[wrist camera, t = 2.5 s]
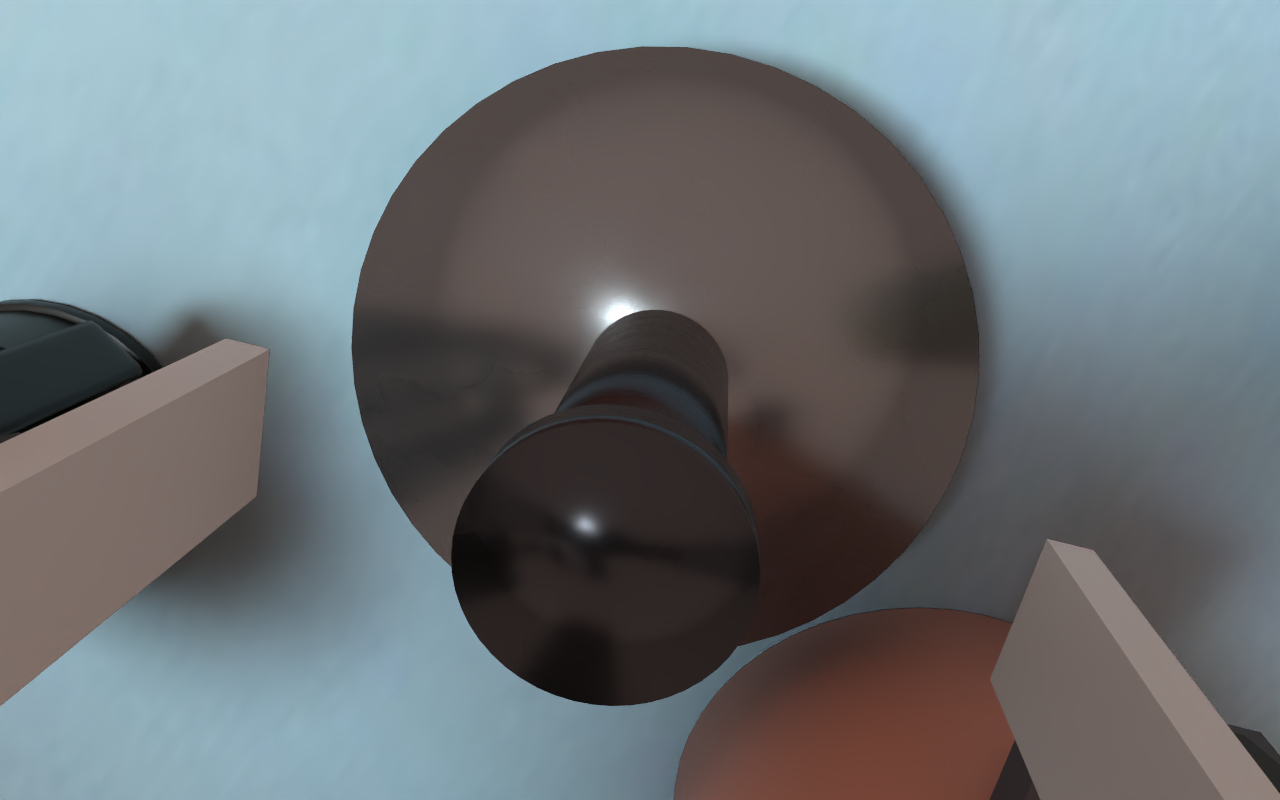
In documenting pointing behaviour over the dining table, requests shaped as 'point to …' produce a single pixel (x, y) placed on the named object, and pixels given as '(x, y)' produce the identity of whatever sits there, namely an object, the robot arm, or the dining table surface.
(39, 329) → the french press
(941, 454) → the lid
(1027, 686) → the robot arm
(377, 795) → the dining table surface
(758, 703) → the pot
